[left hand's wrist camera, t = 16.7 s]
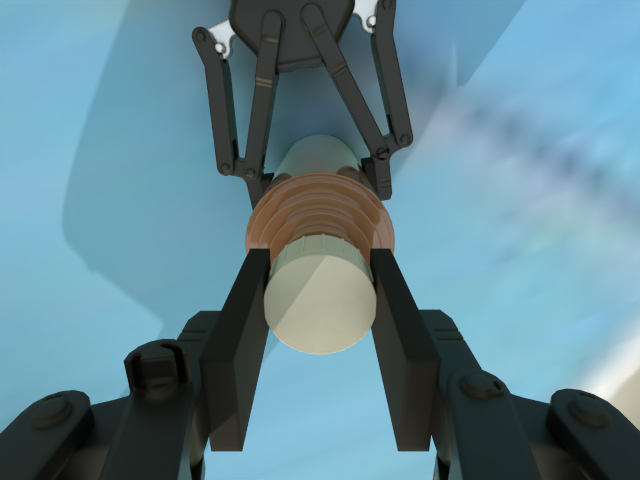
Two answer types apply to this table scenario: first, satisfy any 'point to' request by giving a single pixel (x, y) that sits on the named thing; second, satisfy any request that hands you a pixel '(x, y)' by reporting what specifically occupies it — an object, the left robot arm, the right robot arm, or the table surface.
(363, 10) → the right robot arm
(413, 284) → the table surface
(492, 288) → the table surface
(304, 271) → the cap
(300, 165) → the bottle
